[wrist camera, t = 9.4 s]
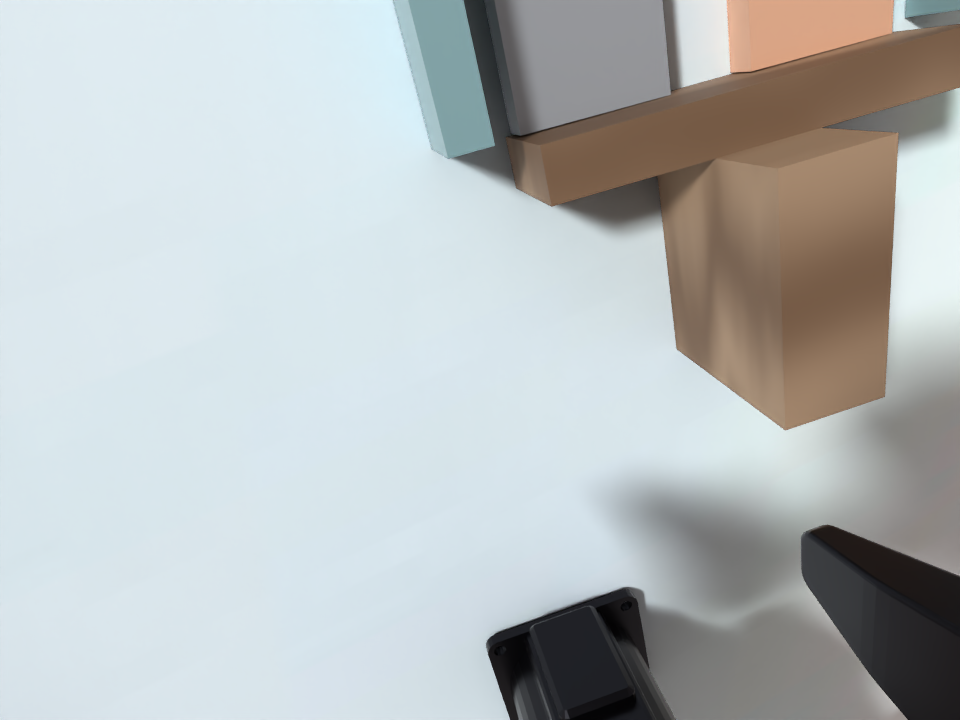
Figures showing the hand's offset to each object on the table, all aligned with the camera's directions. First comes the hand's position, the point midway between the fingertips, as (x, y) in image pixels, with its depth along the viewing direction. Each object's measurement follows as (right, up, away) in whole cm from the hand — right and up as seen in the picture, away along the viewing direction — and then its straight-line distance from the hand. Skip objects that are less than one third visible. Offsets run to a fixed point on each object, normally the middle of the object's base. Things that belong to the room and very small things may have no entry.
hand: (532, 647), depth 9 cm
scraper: (+7, +8, +11) cm, 16 cm away
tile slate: (+2, +14, +8) cm, 16 cm away
